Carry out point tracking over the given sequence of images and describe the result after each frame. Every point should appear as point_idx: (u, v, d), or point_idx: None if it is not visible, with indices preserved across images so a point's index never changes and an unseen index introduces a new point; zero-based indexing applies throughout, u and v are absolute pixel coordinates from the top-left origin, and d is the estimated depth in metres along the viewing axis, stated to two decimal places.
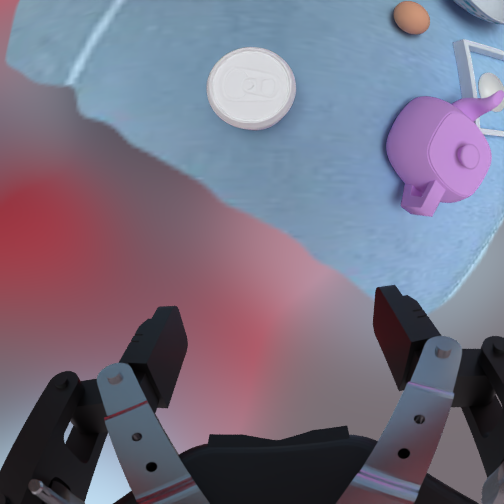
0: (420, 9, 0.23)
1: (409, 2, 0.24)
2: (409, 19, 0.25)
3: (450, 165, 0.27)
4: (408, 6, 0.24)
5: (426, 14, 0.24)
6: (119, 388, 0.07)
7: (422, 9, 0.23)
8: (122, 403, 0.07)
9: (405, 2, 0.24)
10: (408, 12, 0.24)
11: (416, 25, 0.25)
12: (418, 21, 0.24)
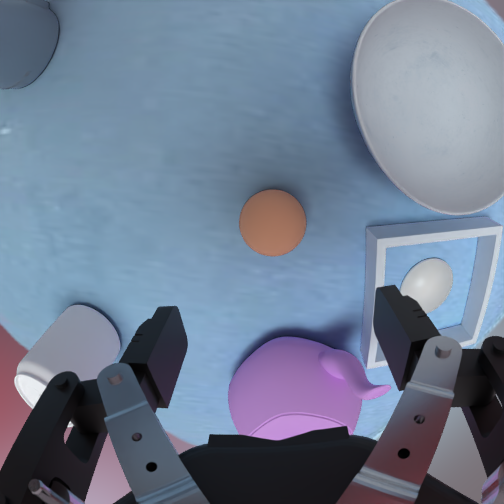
0: (277, 224, 0.20)
1: (260, 206, 0.21)
2: (255, 246, 0.22)
3: None
4: (254, 220, 0.21)
5: (291, 230, 0.21)
6: (119, 388, 0.07)
7: (282, 222, 0.20)
8: (122, 403, 0.07)
9: (254, 205, 0.21)
10: (252, 235, 0.21)
11: (268, 254, 0.22)
12: (270, 250, 0.21)
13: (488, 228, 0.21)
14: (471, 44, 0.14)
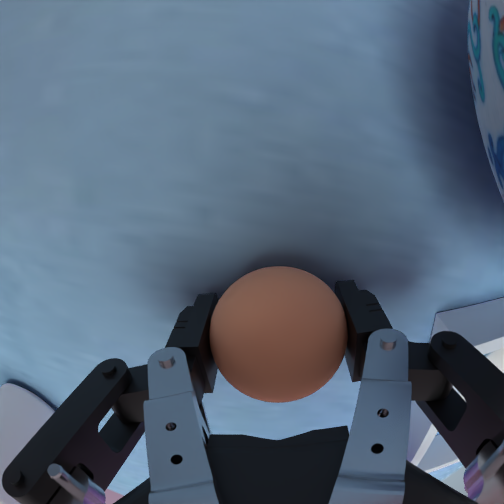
0: (290, 367, 0.08)
1: (252, 324, 0.09)
2: None
3: None
4: (237, 354, 0.09)
5: (319, 372, 0.09)
6: (168, 373, 0.08)
7: (302, 362, 0.08)
8: (181, 385, 0.07)
9: (238, 317, 0.09)
10: (234, 378, 0.09)
11: None
12: (273, 401, 0.09)
13: None
14: None
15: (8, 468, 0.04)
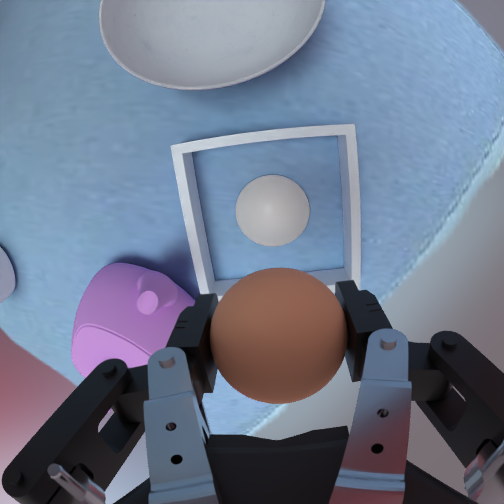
0: (291, 368, 0.08)
1: (252, 326, 0.09)
2: None
3: None
4: (237, 356, 0.09)
5: (319, 374, 0.09)
6: (168, 373, 0.08)
7: (302, 364, 0.08)
8: (181, 385, 0.07)
9: (238, 319, 0.09)
10: (234, 380, 0.09)
11: None
12: (273, 402, 0.09)
13: (327, 126, 0.21)
14: None
15: (8, 468, 0.04)
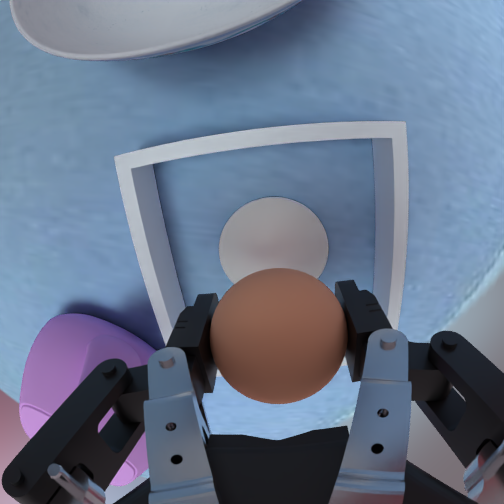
0: (291, 368, 0.08)
1: (252, 326, 0.09)
2: (241, 393, 0.10)
3: None
4: (237, 356, 0.09)
5: (319, 374, 0.09)
6: (168, 373, 0.08)
7: (302, 364, 0.08)
8: (181, 385, 0.07)
9: (238, 319, 0.09)
10: (234, 380, 0.09)
11: None
12: (273, 402, 0.09)
13: (365, 123, 0.12)
14: None
15: (8, 468, 0.04)
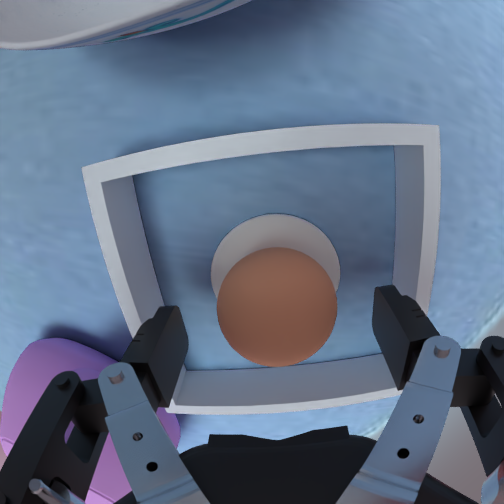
0: (287, 329, 0.10)
1: (254, 292, 0.11)
2: (244, 356, 0.12)
3: None
4: (241, 319, 0.11)
5: (312, 336, 0.11)
6: (120, 387, 0.07)
7: (297, 325, 0.10)
8: (123, 403, 0.07)
9: (242, 287, 0.11)
10: (238, 342, 0.11)
11: None
12: (272, 364, 0.11)
13: (391, 126, 0.09)
14: None
15: None
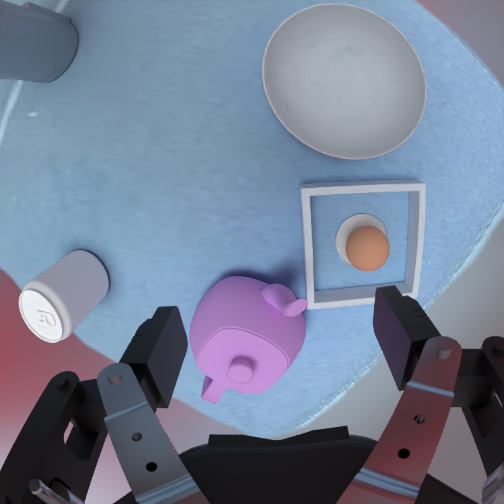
0: (376, 251, 0.30)
1: (366, 238, 0.30)
2: (359, 264, 0.31)
3: (225, 372, 0.31)
4: (361, 247, 0.30)
5: (383, 254, 0.30)
6: (119, 388, 0.07)
7: (379, 249, 0.30)
8: (122, 403, 0.07)
9: (361, 237, 0.30)
10: (359, 257, 0.30)
11: (366, 269, 0.31)
12: (369, 267, 0.31)
13: (409, 184, 0.29)
14: (375, 34, 0.22)
15: None
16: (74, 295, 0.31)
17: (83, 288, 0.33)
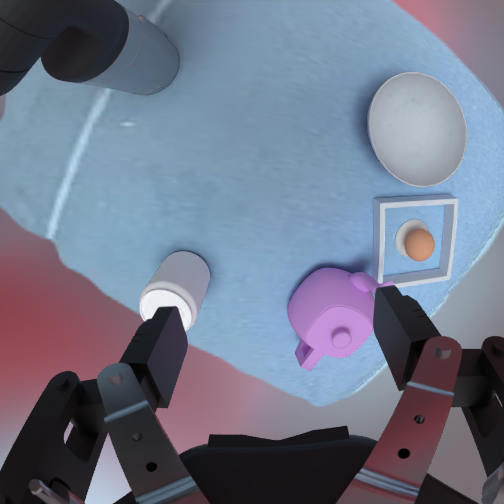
0: (428, 246, 0.39)
1: (421, 238, 0.40)
2: (415, 256, 0.41)
3: (326, 342, 0.41)
4: (418, 244, 0.40)
5: (432, 249, 0.40)
6: (119, 388, 0.07)
7: (430, 246, 0.39)
8: (122, 403, 0.07)
9: (417, 237, 0.40)
10: (416, 251, 0.40)
11: (420, 260, 0.41)
12: (422, 258, 0.41)
13: (448, 199, 0.39)
14: (434, 93, 0.31)
15: None
16: (197, 291, 0.40)
17: (200, 284, 0.42)
